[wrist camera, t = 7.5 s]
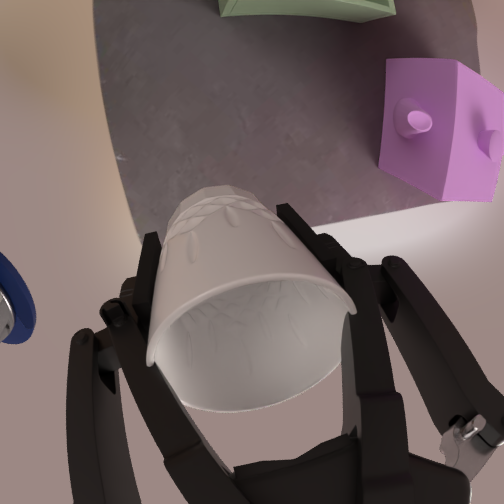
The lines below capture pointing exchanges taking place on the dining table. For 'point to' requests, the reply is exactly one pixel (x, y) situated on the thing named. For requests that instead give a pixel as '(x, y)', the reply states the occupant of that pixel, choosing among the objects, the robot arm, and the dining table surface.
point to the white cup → (241, 306)
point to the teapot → (442, 128)
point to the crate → (311, 8)
